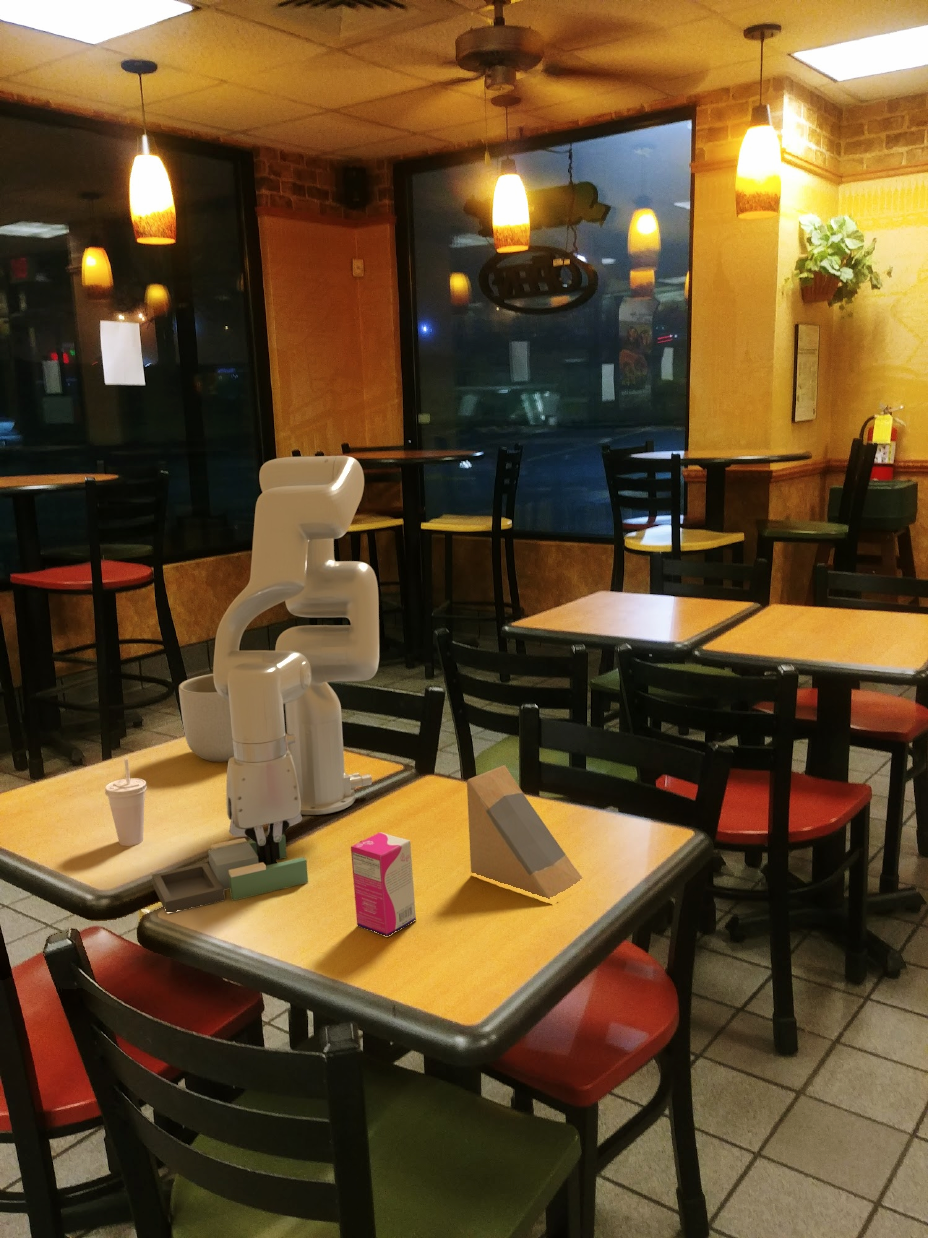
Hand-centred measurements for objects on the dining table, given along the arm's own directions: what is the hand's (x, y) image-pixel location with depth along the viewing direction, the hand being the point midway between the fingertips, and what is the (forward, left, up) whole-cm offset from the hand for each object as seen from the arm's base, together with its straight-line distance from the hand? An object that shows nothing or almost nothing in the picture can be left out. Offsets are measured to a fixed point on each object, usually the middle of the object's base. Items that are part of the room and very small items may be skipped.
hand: (269, 865), depth 152 cm
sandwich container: (-32, +22, -2) cm, 39 cm away
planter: (-9, -60, -2) cm, 61 cm away
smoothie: (+16, -24, -2) cm, 29 cm away
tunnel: (+2, 0, -1) cm, 2 cm away
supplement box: (-9, +23, -2) cm, 25 cm away
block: (+5, -1, -1) cm, 5 cm away
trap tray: (+12, 0, -1) cm, 12 cm away
